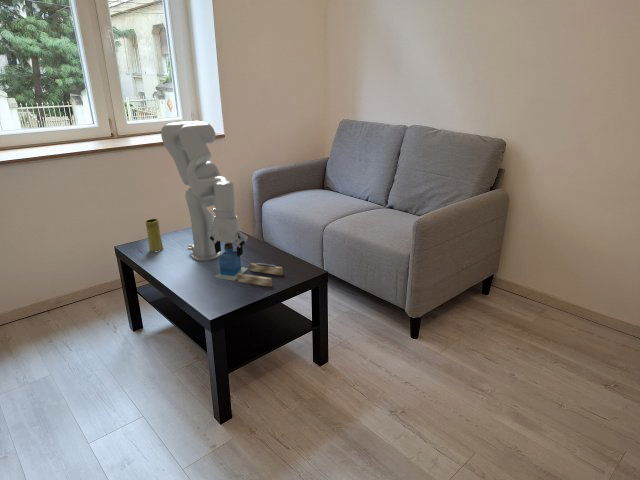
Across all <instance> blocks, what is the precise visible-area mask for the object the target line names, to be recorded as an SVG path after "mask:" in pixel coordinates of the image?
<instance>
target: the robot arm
mask: <svg viewBox="0 0 640 480" xmlns="http://www.w3.org/2000/svg"><path fill="white" fill-rule="evenodd" d="M213 127H214V126H212V125H211V124H210V123H208V122H205V121H202V120H201V121H200V120H192V121H191V120H190V121H178V122H170V123H167V124H164V125H163V126H162V127H161V130H160V136H161V141H162V143H163V145H164V147H165V149H166V150H167V152H168V154H169V155H170V156H171V158H172V159H173V161H174V164H175V166H176V169H177V171H178V173H179V176H180V179H181V181H182V183H183V184H184V185H185V186H187V187H189V188H187V190H186V191H185V193H184V194H185V195H184V196H185V197H184V198H185V201H186V204H187V207H188V213H189V217H190V223H191V232H192V233H191V234H192V240H193V243H192V244H191V243H189V244H188V245H187V250H188V251H192V253H191V258H192V259H193V260H195V261H199V262H205V261H211V260H215V259H217V258H219V257H221V255H222V253H221V251H222V245H221V243H225V244H226V243H232V244H235V245H236V246H237V247H236V252H237V256H238V257H239V256H240V257H241V256H242V255H243V253H244V250H243V246H244V245H245V244H246V243H247V241H248V239H249V236H248V235H246V234H244V233H243V232H241V225H240V221H239V217H238V215H237V214H236V201H235V187H234V186H235V185H234V183H233V182H232V181H230V180H228V179H227V177H225V176H224V175H221V174H220V170H219V169H218V167H217V165H216V164H215V163H214V162H213V161H211V160H210V159H211V157H212V153H211V151H210V150H209V148H208V144H213V143H215V141H216V138H217V135H216V132H215V129H214V128H213ZM210 207H214V208H213V209H212V212H213V213H215V215H214V216H213V214H212V213H211V211H209V209H208V208H210Z"/></svg>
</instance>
